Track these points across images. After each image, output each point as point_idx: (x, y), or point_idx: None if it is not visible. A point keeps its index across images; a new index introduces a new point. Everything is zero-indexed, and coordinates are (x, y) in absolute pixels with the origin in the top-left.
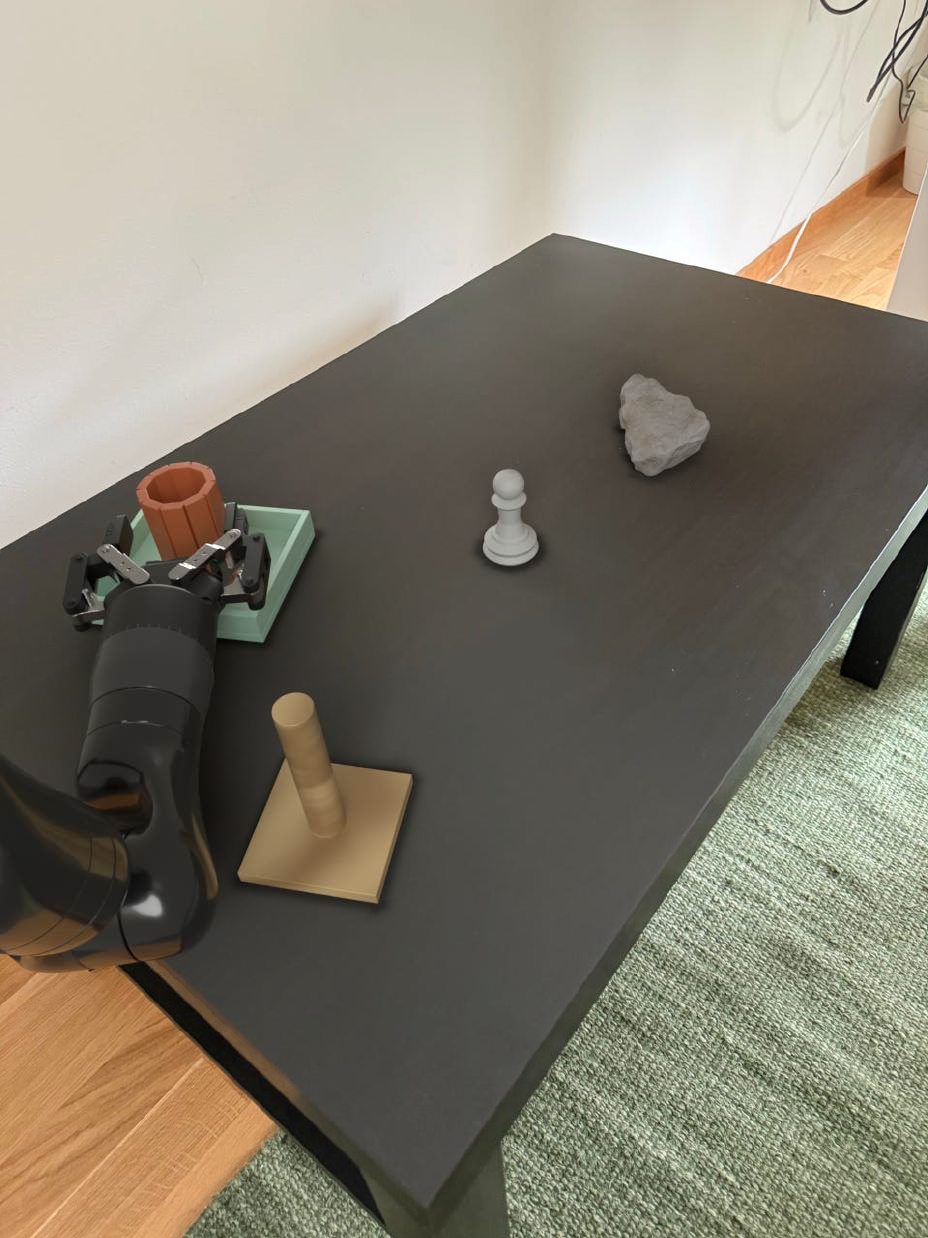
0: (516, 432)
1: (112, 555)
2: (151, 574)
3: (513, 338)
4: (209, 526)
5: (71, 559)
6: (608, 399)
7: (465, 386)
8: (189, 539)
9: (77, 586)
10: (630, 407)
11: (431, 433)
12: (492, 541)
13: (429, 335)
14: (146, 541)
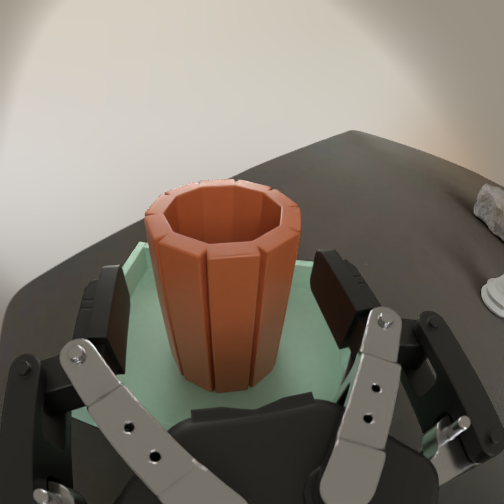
0: (426, 211)
1: (94, 377)
2: (227, 467)
3: (373, 161)
4: (283, 294)
5: (10, 370)
6: (452, 199)
7: (369, 179)
8: (247, 320)
9: (21, 470)
10: (501, 201)
11: (373, 205)
12: (501, 297)
13: (322, 152)
14: (134, 296)
